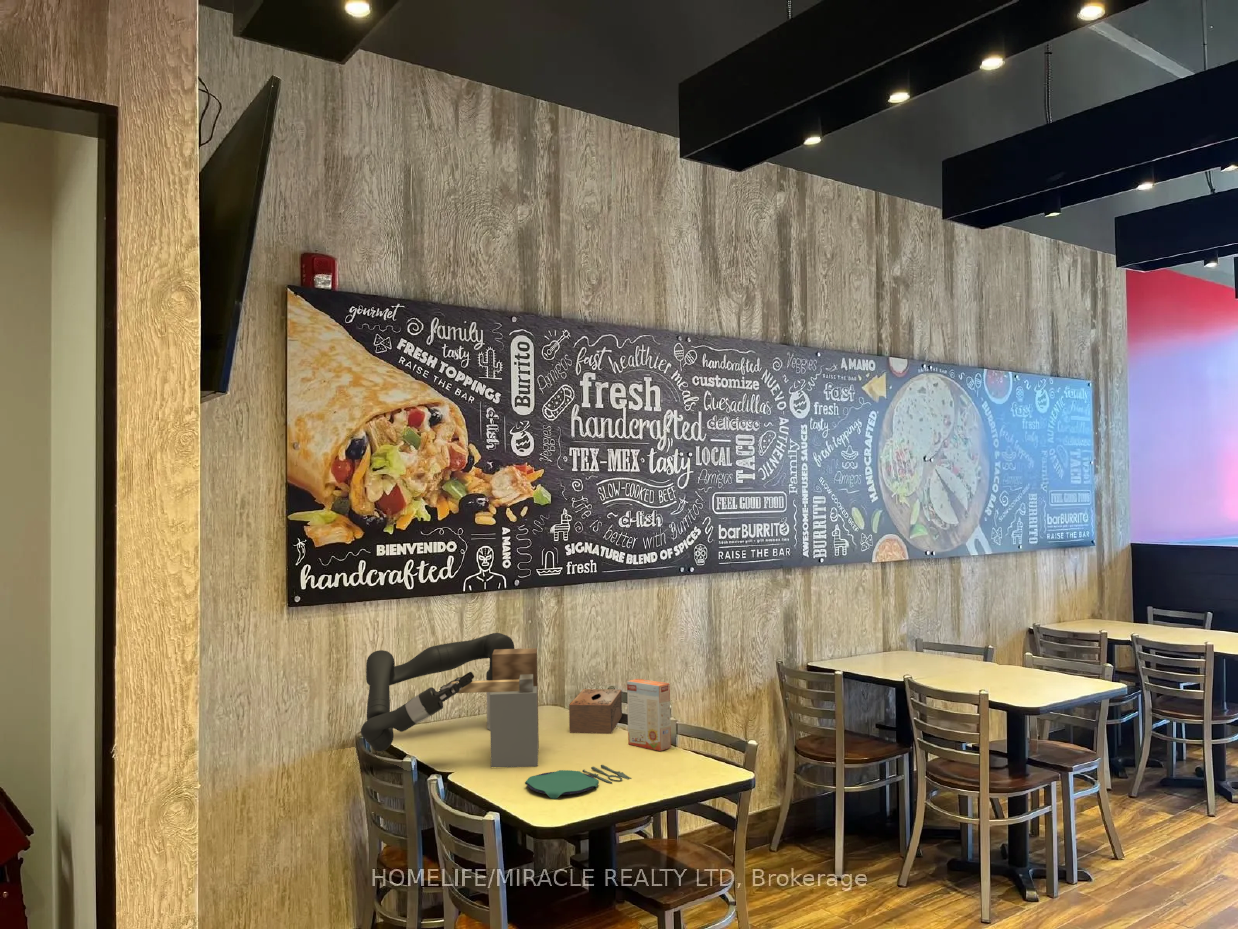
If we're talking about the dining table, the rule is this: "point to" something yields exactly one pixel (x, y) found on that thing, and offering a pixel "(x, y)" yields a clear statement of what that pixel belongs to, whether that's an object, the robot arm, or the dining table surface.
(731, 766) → the dining table surface
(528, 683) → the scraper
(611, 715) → the tissue box cover
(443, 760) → the dining table surface
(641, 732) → the cracker box
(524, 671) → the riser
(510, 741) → the grey tall block
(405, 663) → the robot arm
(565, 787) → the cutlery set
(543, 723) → the dining table surface
